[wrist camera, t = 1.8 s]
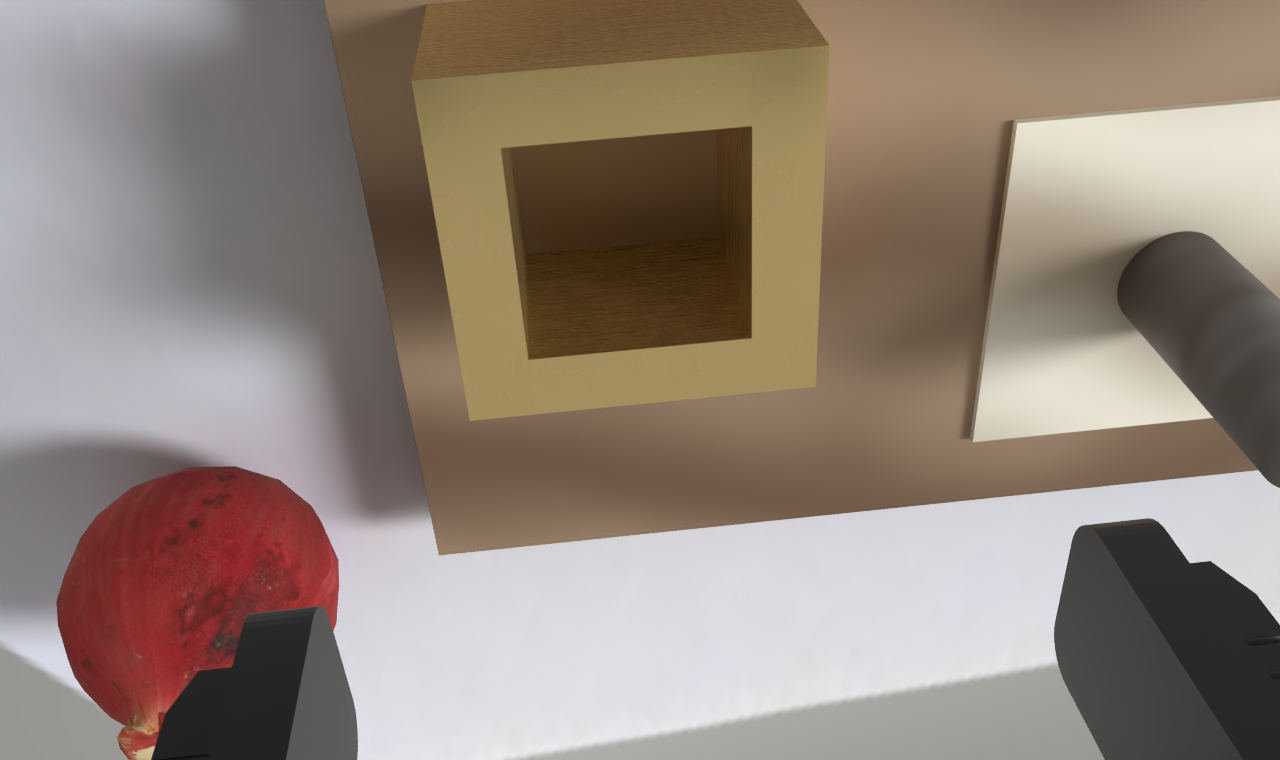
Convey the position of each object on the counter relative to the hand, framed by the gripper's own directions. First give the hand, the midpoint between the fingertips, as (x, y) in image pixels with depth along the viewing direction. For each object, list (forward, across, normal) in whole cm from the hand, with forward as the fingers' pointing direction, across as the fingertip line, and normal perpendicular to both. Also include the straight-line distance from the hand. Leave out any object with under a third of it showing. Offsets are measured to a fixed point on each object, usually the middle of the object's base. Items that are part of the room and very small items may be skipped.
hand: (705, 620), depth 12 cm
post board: (+14, -6, +2) cm, 16 cm away
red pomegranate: (+15, +10, +9) cm, 20 cm away
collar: (+12, 0, 0) cm, 12 cm away
